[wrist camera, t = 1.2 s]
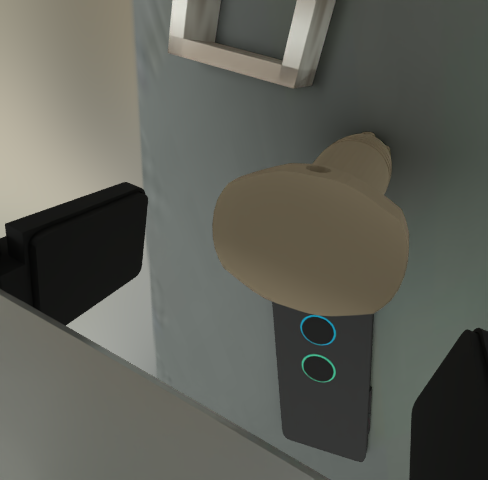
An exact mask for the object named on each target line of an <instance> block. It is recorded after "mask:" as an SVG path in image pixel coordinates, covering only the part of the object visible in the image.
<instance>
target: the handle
mask: <svg viewBox="0 0 488 480" xmlns="http://www.w3.org/2000/svg"><path fill="white" fill-rule="evenodd" d="M390 156H391V152H390V148H389V147H388V146H386V145H384V143H383V142H382V141H381V140H379V139H378V138H376V137H375V134H374V133H372V132H362V133H361V134H354V135H350V136H347V137H344V138H342V139H340V140H338V141H336V142H334V143H333V144H331V145H330V146H329V147H328V148H326V149H325V150H324V151H323V152H322V153H321V154H320V155H319V156H318V158H317V159H316V160H315V161H314V163H313V164H301V163H289V164H284V165H280V166H275V167H271V168H267V169H263V170H260V171H257V172H253V173H250V174H247V175H244V176H241V177H239V178H237V179H235V180H233V181H232V182H230V183H228V185H227V186H226V187H225V188H224V190H223V191H222V193H221V194H220V196H219V198H218V200H217V203H216V206H215V210H214V216H213V224H212V225H213V240H214V245H215V250H216V252H217V255H218V258H219V260H220V262H221V264H222V266H223V267H224V268H225V269H226V270H227V271H228V272H229V273H231V274H232V275H233V276H234V277H236V278H237V279H238V280H239V281H241V282H242V283H243V284H245V285H246V286H247V287H248V288H250V289H251V290H252V291H254V292H255V293H257V294H259V295H260V296H262V297H263V298H265V299H268V300H270V301H272V302H275V303H277V304H280V305H283V306H287V307H290V308H293V309H296V310H299V311H302V312H305V313H309V314H314V315H319V316H349V315H364V314H373V313H375V312H377V311H378V310H380V309H381V308H383V307H384V306H385V305H386V304H387V303H388V302H390V301H391V299H392V298H393V297H394V295H395V294H396V292H397V291H398V289H399V287H400V285H401V283H402V280H403V278H404V276H405V271H406V267H407V262H408V254H409V231H408V227H407V223H406V219H405V217H404V214H403V212H402V209H401V208H400V207H398V206H397V205H396V204H395V203H393V202H392V201H391V200H390V199H388V198H387V197H386V196H384V194H385V192H386V190H387V187H388V184H389V181H390V178H391V171H392V162H391V157H390Z"/></svg>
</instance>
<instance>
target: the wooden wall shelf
mask: <svg viewBox="0 0 488 480" xmlns="http://www.w3.org/2000/svg"><path fill="white" fill-rule="evenodd" d="M335 2H336V0H297V3H296V7H295V11H294V15H293V20H292V24H291V28H290V32H289V37H288V41H287V45H286V49H285V53H284V58H283V60H279V59H276V58H272V57H268V56H264V55H260V54H257V53H253V52H249V51H245V50H241V49H238V48H234V47H230V46H226V45H222V44H219V43H215V38H216V32H217V25H218V18H219V11H220V5H221V0H173V2H172V13H171V24H170V35H169V46H168V53H170V54H173V55H177V56H181V57H184V58H188V59H191V60H195V61H198V62H202V63H205V64H209V65H212V66H216V67H219V68H223V69H226V70H230V71H233V72H237V73H241V74H244V75H248V76H251V77H255V78H258V79H262V80H265V81H269V82H272V83H276V84H279V85H283V86H286V87H290V88H293V89H294V88H300V87H307V86H312V84H313V80H314V76H315V73H316V69H317V66H318V62H319V59H320V55H321V52H322V48H323V45H324V41H325V37H326V34H327V30H328V27H329V23H330V20H331V16H332V13H333V9H334V5H335Z"/></svg>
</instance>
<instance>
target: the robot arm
mask: <svg viewBox="0 0 488 480" xmlns="http://www.w3.org/2000/svg"><path fill="white" fill-rule="evenodd" d="M147 205H148V197H147V196H146V195H145V192H144V190H143V189H142V188H140V187H137V186H135V185H133V184H130V183H127V182H124V183H121V184H118V185H115V186H112V187H109V188H106V189H103V190H101V191H98V192H95V193H92V194H89V195H86V196H83V197H80V198H78V199H75V200H72V201H69V202H66V203H63V204H60V205H57V206H55V207H52V208H49V209H46V210H43V211H40V212H38V213H35V214H32V215H29V216H26V217H23V218H20V219H17V220H15V221H12V222H9V223H6V224H5V229H6V236H5V237H3V238H0V480H330V479H328V478H327V477H325V476H323V475H321V474H320V473H318V472H316V471H315V470H313V469H311V468H309V467H308V466H306V465H304V464H303V463H301V462H299V461H298V460H296V459H294V458H292V457H291V456H289V455H287V454H286V453H284V452H282V451H280V450H279V449H277V448H275V447H274V446H272V445H270V444H269V443H267V442H265V441H263V440H262V439H260V438H258V437H257V436H255V435H253V434H251V433H250V432H248V431H246V430H245V429H243V428H241V427H240V426H238V425H236V424H234V423H233V422H231V421H229V420H228V419H226V418H224V417H222V416H221V415H219V414H217V413H216V412H214V411H212V410H210V409H209V408H207V407H205V406H204V405H202V404H200V403H198V402H197V401H195V400H193V399H192V398H190V397H188V396H186V395H185V394H183V393H181V392H179V391H178V390H176V389H174V388H173V387H171V386H169V385H167V384H166V383H164V382H162V381H160V380H159V379H157V378H155V377H154V376H152V375H150V374H148V373H147V372H145V371H143V370H141V369H140V368H138V367H136V366H135V365H133V364H131V363H129V362H128V361H126V360H124V359H122V358H121V357H119V356H117V355H115V354H114V353H112V352H110V351H109V350H107V349H105V348H103V347H101V346H100V345H98V344H96V343H94V342H93V341H91V340H89V339H88V338H86V337H84V336H82V335H80V334H79V333H77V332H75V331H74V330H72V329H70V328H68V327H66V325H67V324H69V323H70V322H71V321H73V320H74V319H76V318H77V317H79V316H80V315H81V314H83V313H84V312H86V311H87V310H89V309H90V308H92V307H93V306H94V305H96V304H97V303H99V302H100V301H102V300H103V299H104V298H106V297H107V296H109V295H110V294H112V293H113V292H115V291H116V290H118V289H119V288H120V287H122V286H123V285H125V284H126V283H128V282H129V281H130V280H132V279H133V278H135V277H136V276H137V275H138V274H139V272H140V270H141V267H142V259H143V248H144V237H145V227H146V216H147ZM409 480H488V331H485V330H483V329H481V328H476V329H475V330H474V331H473V332H472V331H470V330H468V329H467V330H465V331H464V332H463V333H462V334H461V336H460V337H459V339H458V340H457V341H456V343H455V344H454V346H453V347H452V349H451V350H450V352H449V353H448V355H447V356H446V357H445V359H444V360H443V362H442V363H441V365H440V366H439V368H438V369H437V370H436V372H435V373H434V375H433V376H432V378H431V379H430V381H429V382H428V384H427V385H426V386H425V388H424V389H423V391H422V392H421V394H420V395H419V397H418V398H417V400H416V401H415V403H414V406H413V409H412V418H411V448H410V479H409Z"/></svg>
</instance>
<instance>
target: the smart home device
mask: <svg viewBox="0 0 488 480" xmlns="http://www.w3.org/2000/svg"><path fill="white" fill-rule="evenodd" d="M272 304H273V317H274V330H275V342H276V355H277V368H278V381H279V393H280V406H281V419H282V430H283V434H284V436H285V437H286V438H287V439H290V440H292V441H295V442H298V443H301V444H305V445H308V446H311V447H314V448H317V449H320V450H323V451H327V452H330V453H333V454H336V455H339V456H342V457H345V458H349V459H352V460H355V461H359V462H363V461H364V459H365V457H366V451H367V443H368V434H369V431H370V414H371V393H372V387H370V380H371V360H372V339H373V318H374V313H373V314H364V315H349V316H319V315H314V314H309V313H305V312H302V311H299V310H296V309H293V308H290V307H287V306H283V305H280V304H277V303H275V302H272Z"/></svg>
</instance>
